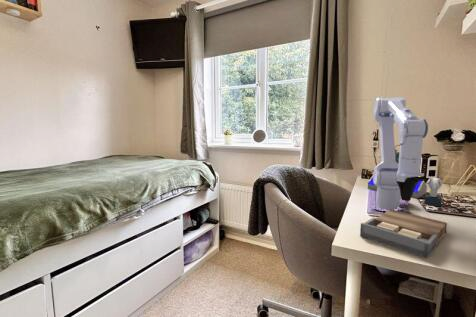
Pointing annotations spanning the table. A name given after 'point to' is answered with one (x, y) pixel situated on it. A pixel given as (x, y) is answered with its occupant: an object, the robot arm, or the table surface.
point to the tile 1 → (388, 227)
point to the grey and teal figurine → (433, 192)
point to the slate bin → (398, 239)
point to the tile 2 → (410, 233)
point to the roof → (418, 192)
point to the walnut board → (414, 223)
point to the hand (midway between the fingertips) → (405, 200)
